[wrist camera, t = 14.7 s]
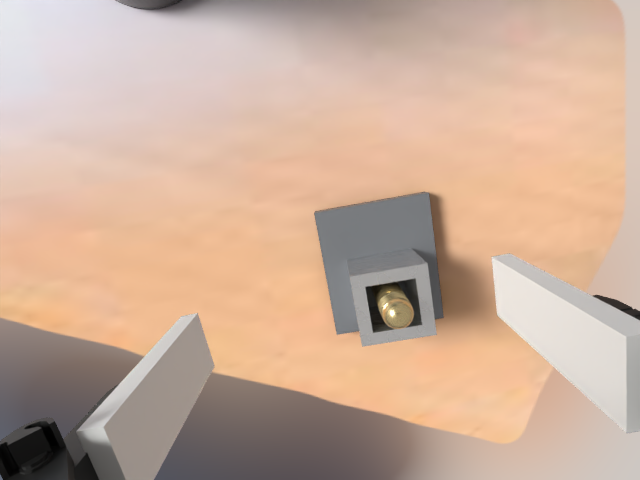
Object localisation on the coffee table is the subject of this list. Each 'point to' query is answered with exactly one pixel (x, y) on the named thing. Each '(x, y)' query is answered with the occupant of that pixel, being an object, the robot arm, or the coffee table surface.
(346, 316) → the keeper plate
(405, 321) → the pin
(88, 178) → the coffee table surface
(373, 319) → the steel collar
